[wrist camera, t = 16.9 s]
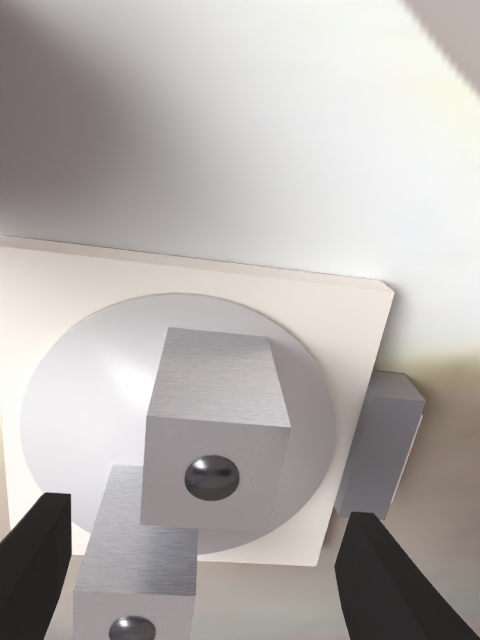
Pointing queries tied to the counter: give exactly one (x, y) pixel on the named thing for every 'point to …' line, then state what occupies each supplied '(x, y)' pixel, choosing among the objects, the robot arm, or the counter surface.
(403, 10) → the counter surface
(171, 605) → the block
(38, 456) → the scale
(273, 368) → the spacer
